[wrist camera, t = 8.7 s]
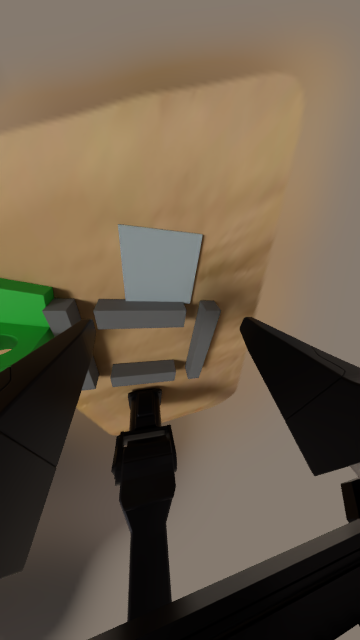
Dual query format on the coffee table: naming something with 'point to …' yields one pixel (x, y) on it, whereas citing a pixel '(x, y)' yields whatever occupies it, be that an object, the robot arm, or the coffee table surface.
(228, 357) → the coffee table surface
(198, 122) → the coffee table surface
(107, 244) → the coffee table surface
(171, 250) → the felt pad
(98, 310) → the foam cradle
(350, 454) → the robot arm
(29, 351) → the mechanical part
